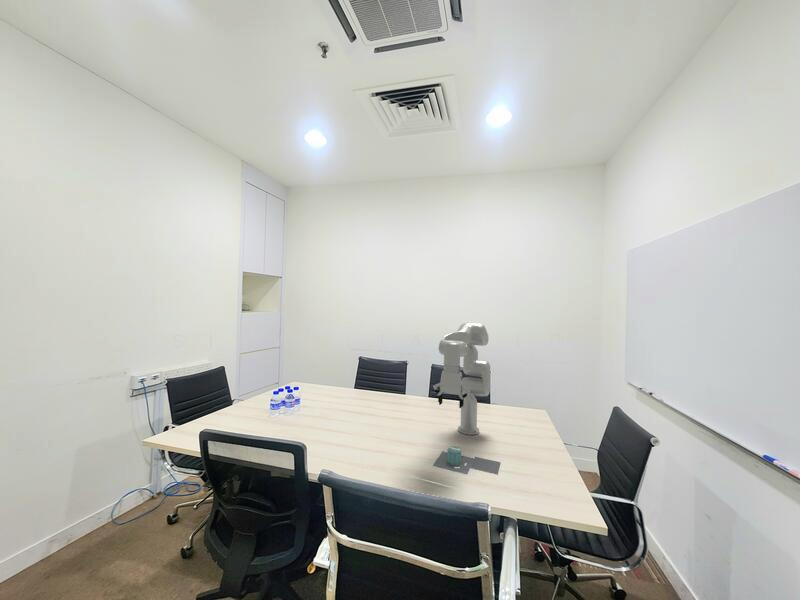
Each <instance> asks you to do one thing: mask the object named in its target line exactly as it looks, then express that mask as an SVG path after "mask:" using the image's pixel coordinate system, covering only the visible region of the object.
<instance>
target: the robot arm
mask: <svg viewBox="0 0 800 600" xmlns="http://www.w3.org/2000/svg"><path fill="white" fill-rule="evenodd" d="M488 343H489V333H488V331H487V328H486V327H485V325H484V324H482V323H479V322H477V323H476V322H464V323H462V324H461V325H460V326H459V328H458V329H457V330H456V331H454V332H451V333H448V334H446V335H444V336H443V337H442V338H441V340H440V341H439V344H438V352H439V353H440V354H441V355H442V356H443V370H442V371H441V376H440V381H439V383H436V384H434V385H433V386H432V387H433V390H434V393H436V396H437V403H438V405H439V406H441V405H442V404H443V399H444V398H443V394H450V395H457V396H459V400H458V401H459V404H458V405H459V406H458V408H459V409H460V425H458V427H457V431H458V432H459V433H461V434H463V435H469V436H470V435H471V436H474V435H478V434H479V433H480V428H478V427H477V426H478V400H477V398H476V397H475V395H476V396H481V397H487V396H489V395H490V392H491V364H490V362H489V361H486V360H483V359H482V360H481V359H479V351H478V348H477V347H476V346H481V347H484V346H486V345H488ZM461 358H463V360H462V361H463V362H462V363H463V364H462V366H461ZM461 371H463V373H464V374H465V375H467V376H471V377H463V373H462V372H461ZM472 376H473V377H472ZM476 377H477V378H476ZM478 377H480V378H478ZM438 387H439V389H438Z"/></svg>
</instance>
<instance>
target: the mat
mask: <svg viewBox="0 0 800 600" xmlns="http://www.w3.org/2000/svg"><path fill="white" fill-rule="evenodd" d="M500 466H501V461H497V460H493V459H487V458H483V457H479V456H474V460H473V463H472V465H471V467H470V469H472V470H476V471H481V472H484V473H490V474H493V475H497V476H498V475H499V471H500V468H501V467H500Z"/></svg>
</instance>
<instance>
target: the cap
mask: <svg viewBox="0 0 800 600" xmlns="http://www.w3.org/2000/svg"><path fill="white" fill-rule="evenodd" d="M446 452H447V462H448V463H449V464H451V465H459V464H460V463H461V455H462V450H461V447H458V446H456V445H455V446H448V447H447V451H446Z"/></svg>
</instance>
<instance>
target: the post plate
mask: <svg viewBox="0 0 800 600" xmlns="http://www.w3.org/2000/svg"><path fill="white" fill-rule="evenodd" d="M474 458H475V457H474ZM474 458H473V457H469V456H465V455H462V454H461V463H460V464H459V465H451V464H449V463H448V462H447V451H441V452H440V454H439V455H438V457H437V458H436V460H435V461H434V462H433V464H432V467H437V468H440V469H444V470H447V471H451V472H456V473H459V474H463V475H468V474H469V472H470V470H471V468H470V467H471V465H472V463H473V460H474Z"/></svg>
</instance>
